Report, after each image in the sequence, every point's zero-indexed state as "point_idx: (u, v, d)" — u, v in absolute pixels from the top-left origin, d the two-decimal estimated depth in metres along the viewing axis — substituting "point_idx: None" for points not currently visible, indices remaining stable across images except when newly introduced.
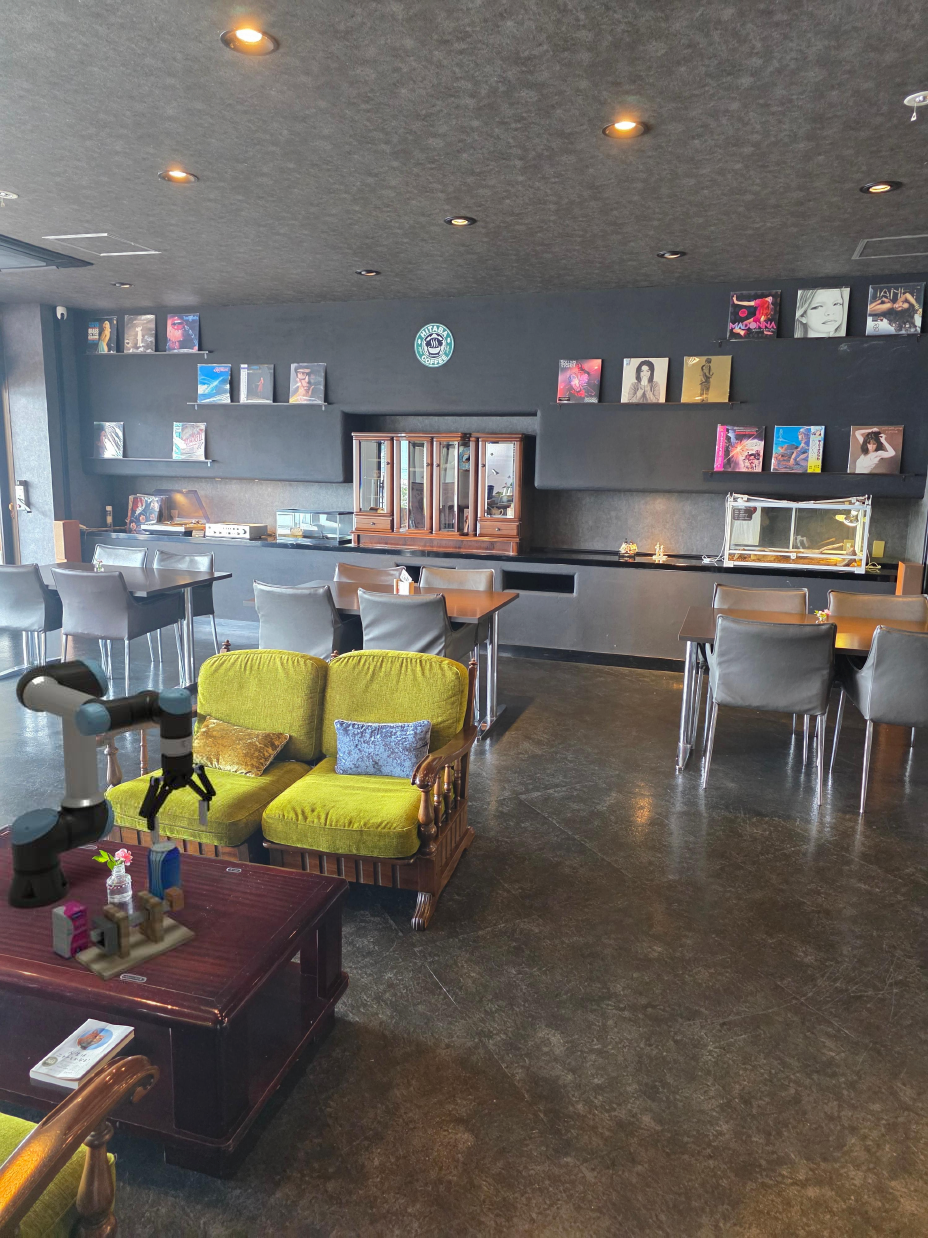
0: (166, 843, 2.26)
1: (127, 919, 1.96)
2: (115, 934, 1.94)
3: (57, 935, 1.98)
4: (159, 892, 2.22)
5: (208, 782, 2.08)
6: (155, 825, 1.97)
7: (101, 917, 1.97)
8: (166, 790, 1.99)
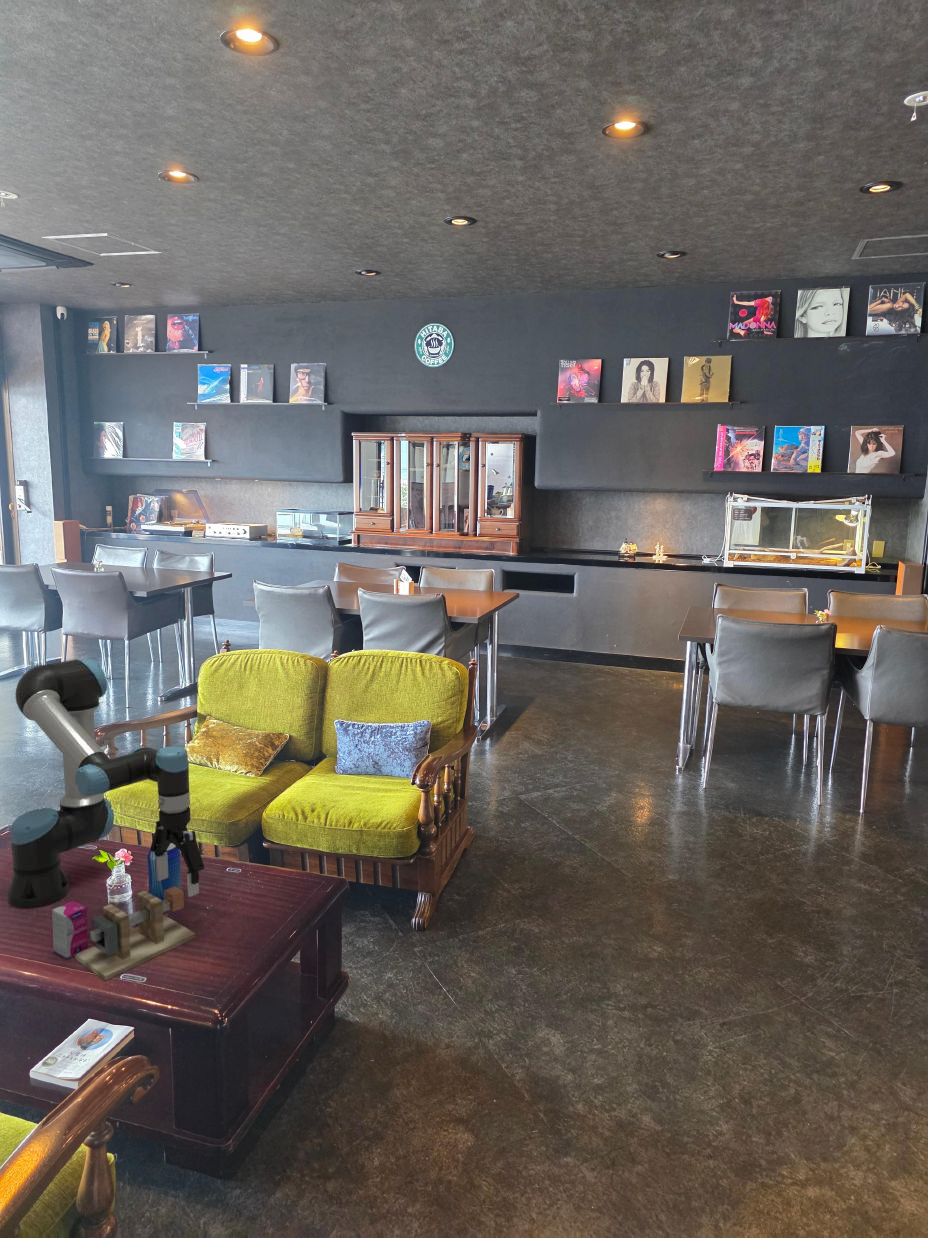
0: None
1: (127, 919, 1.96)
2: (115, 934, 1.94)
3: (57, 935, 1.98)
4: (159, 892, 2.22)
5: (190, 854, 2.03)
6: None
7: (101, 917, 1.97)
8: None
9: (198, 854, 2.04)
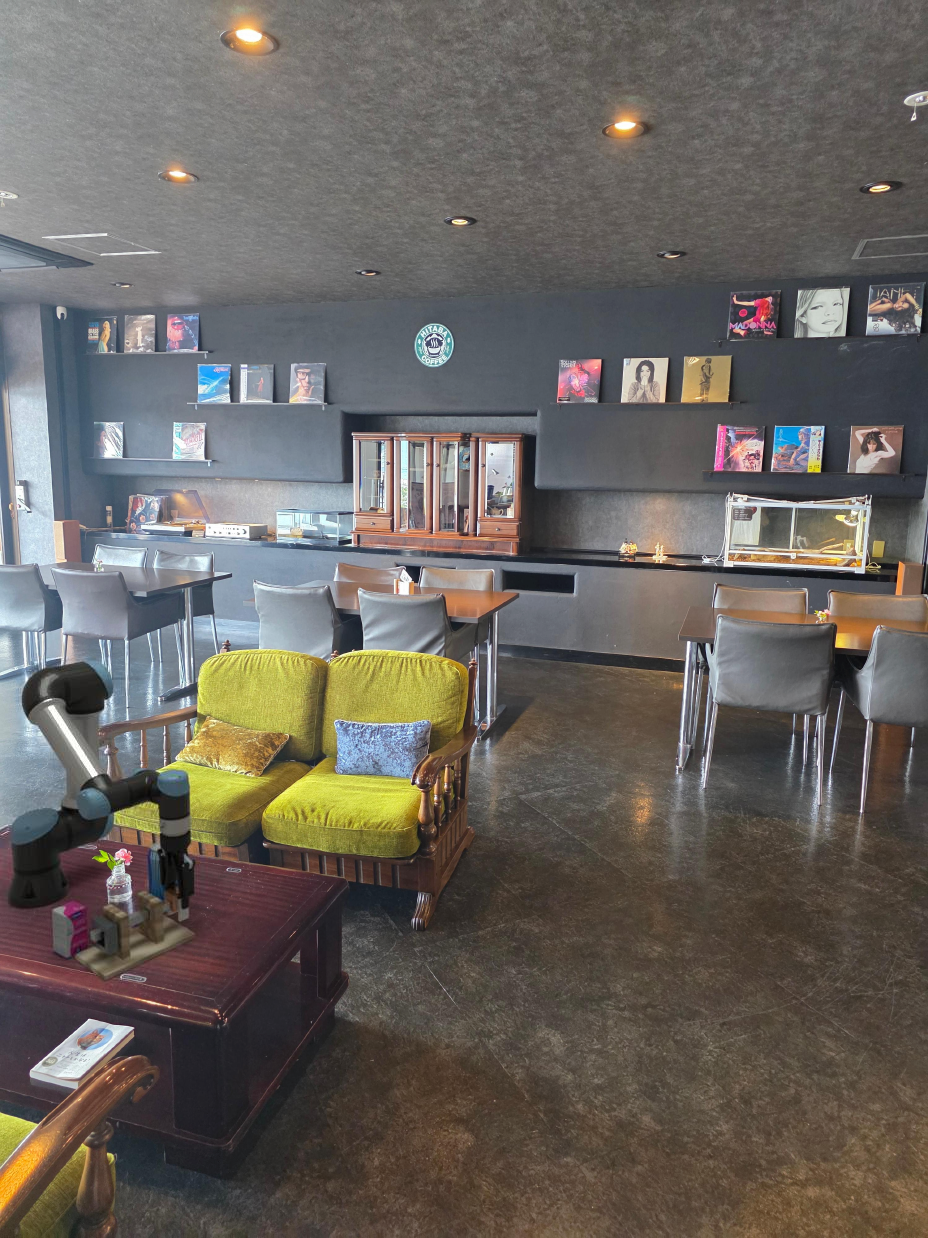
0: None
1: (127, 919, 1.96)
2: (115, 934, 1.94)
3: (57, 935, 1.98)
4: (159, 892, 2.22)
5: (184, 881, 2.06)
6: None
7: (101, 917, 1.97)
8: None
9: (192, 882, 2.07)
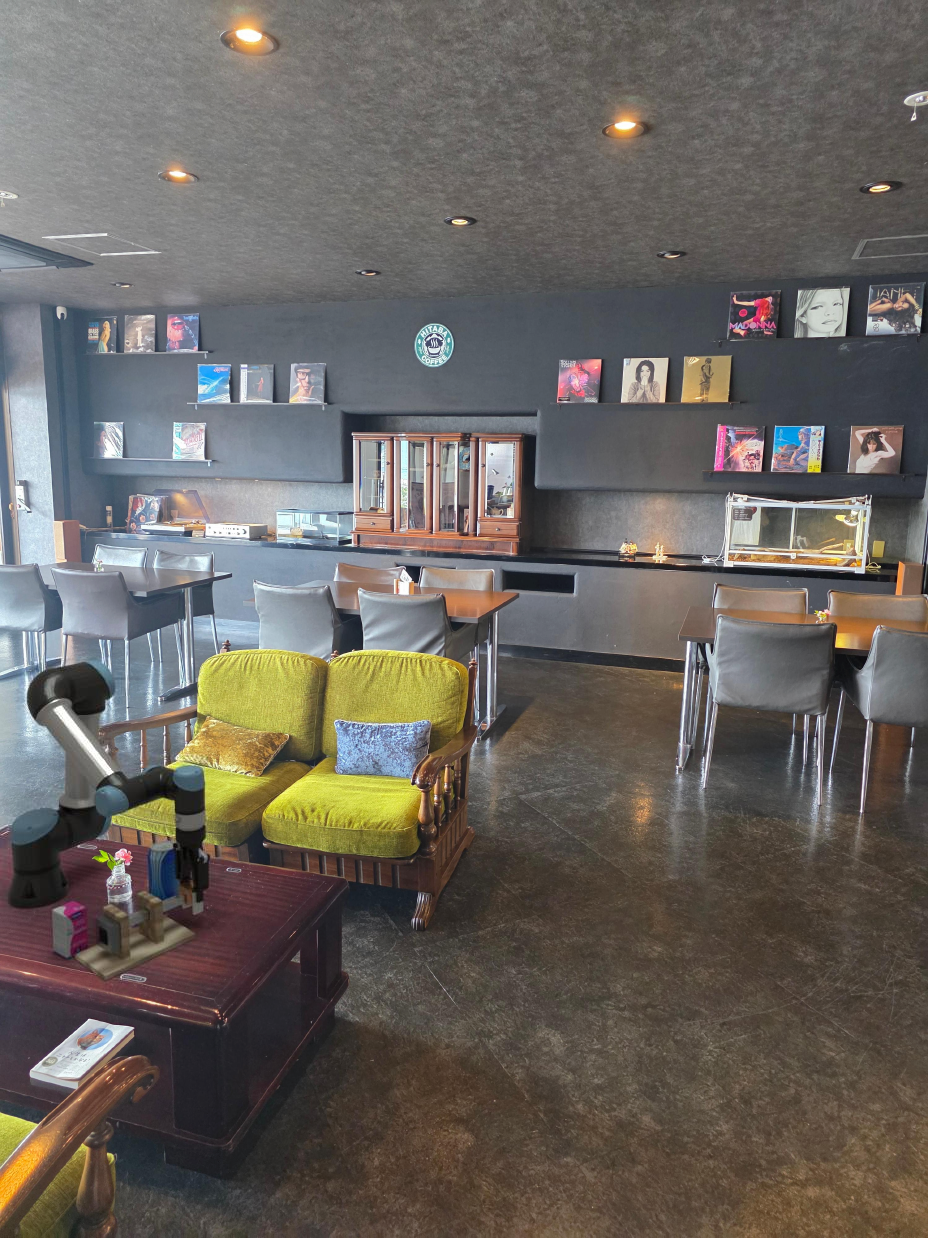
0: (166, 843, 2.26)
1: (127, 919, 1.96)
2: (118, 933, 1.95)
3: (57, 935, 1.98)
4: (159, 892, 2.22)
5: (199, 875, 2.09)
6: None
7: (104, 916, 1.98)
8: None
9: (207, 876, 2.10)
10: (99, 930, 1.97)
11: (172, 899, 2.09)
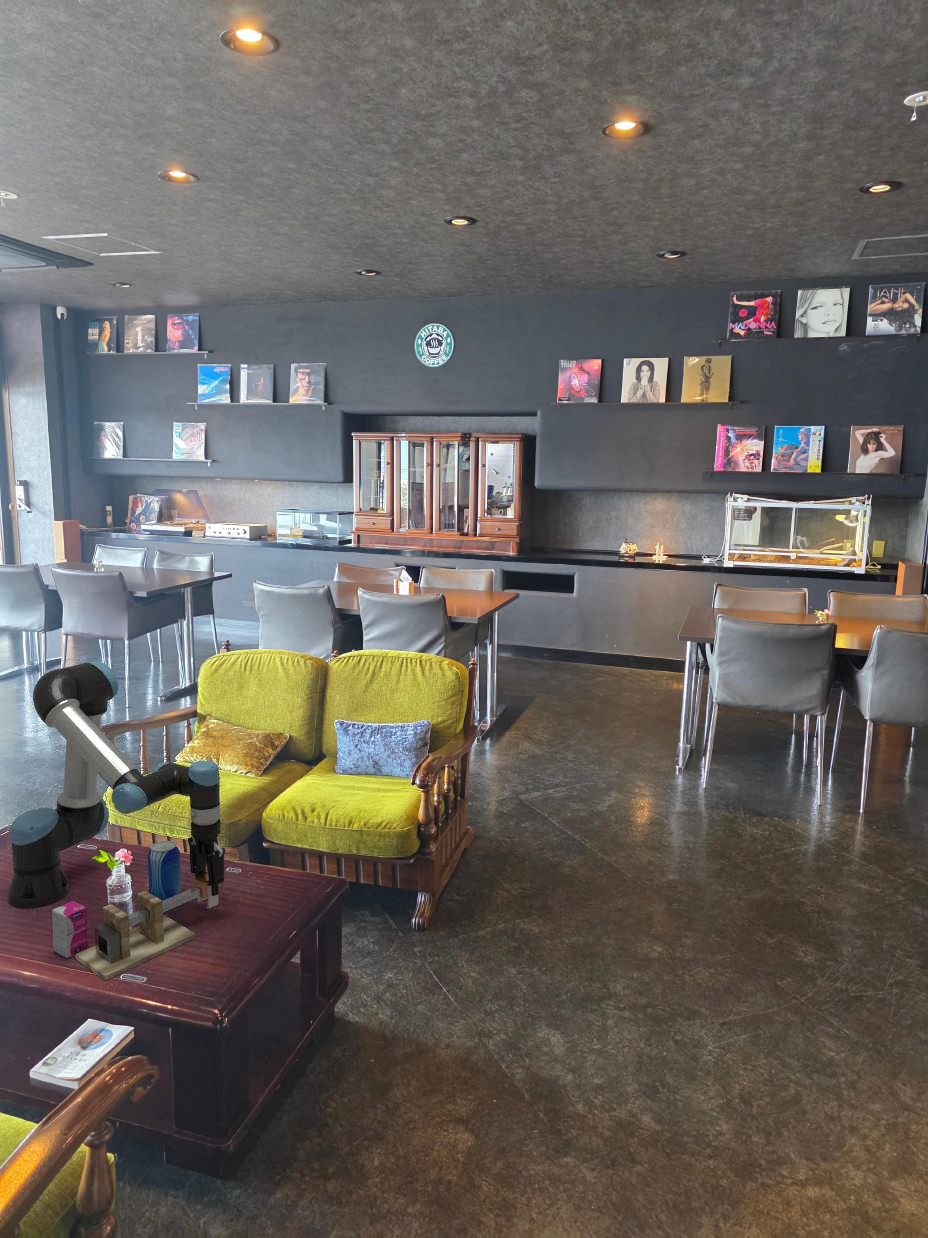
0: (166, 843, 2.26)
1: (127, 919, 1.96)
2: (118, 942, 1.95)
3: (57, 935, 1.98)
4: (159, 892, 2.22)
5: (215, 869, 2.13)
6: None
7: (104, 925, 1.98)
8: None
9: (222, 869, 2.14)
10: (99, 939, 1.97)
11: (188, 892, 2.13)
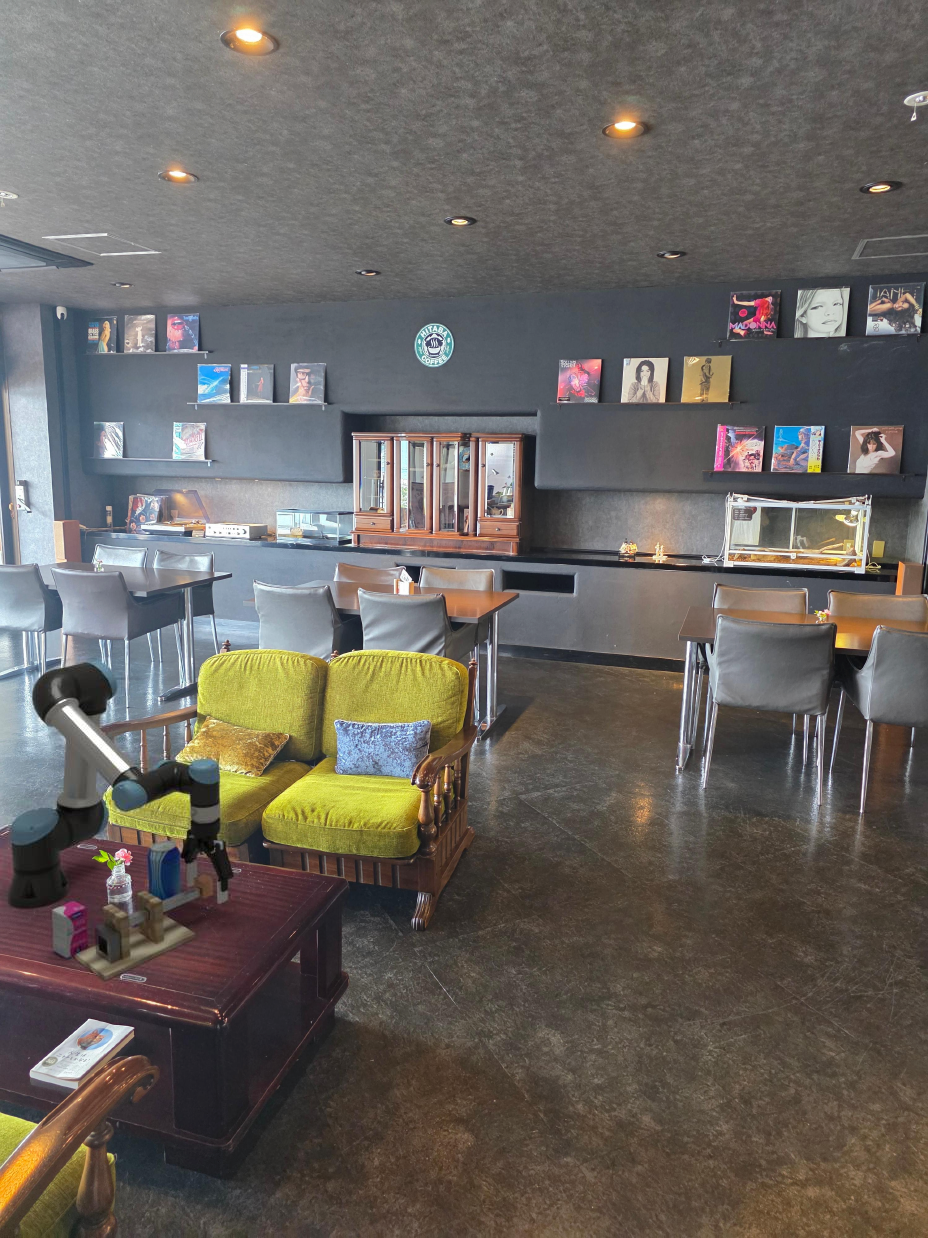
0: (166, 843, 2.26)
1: (127, 919, 1.96)
2: (118, 942, 1.95)
3: (57, 935, 1.98)
4: (159, 892, 2.22)
5: (220, 863, 2.11)
6: None
7: (104, 925, 1.98)
8: None
9: (228, 863, 2.12)
10: (99, 939, 1.97)
11: (188, 892, 2.13)
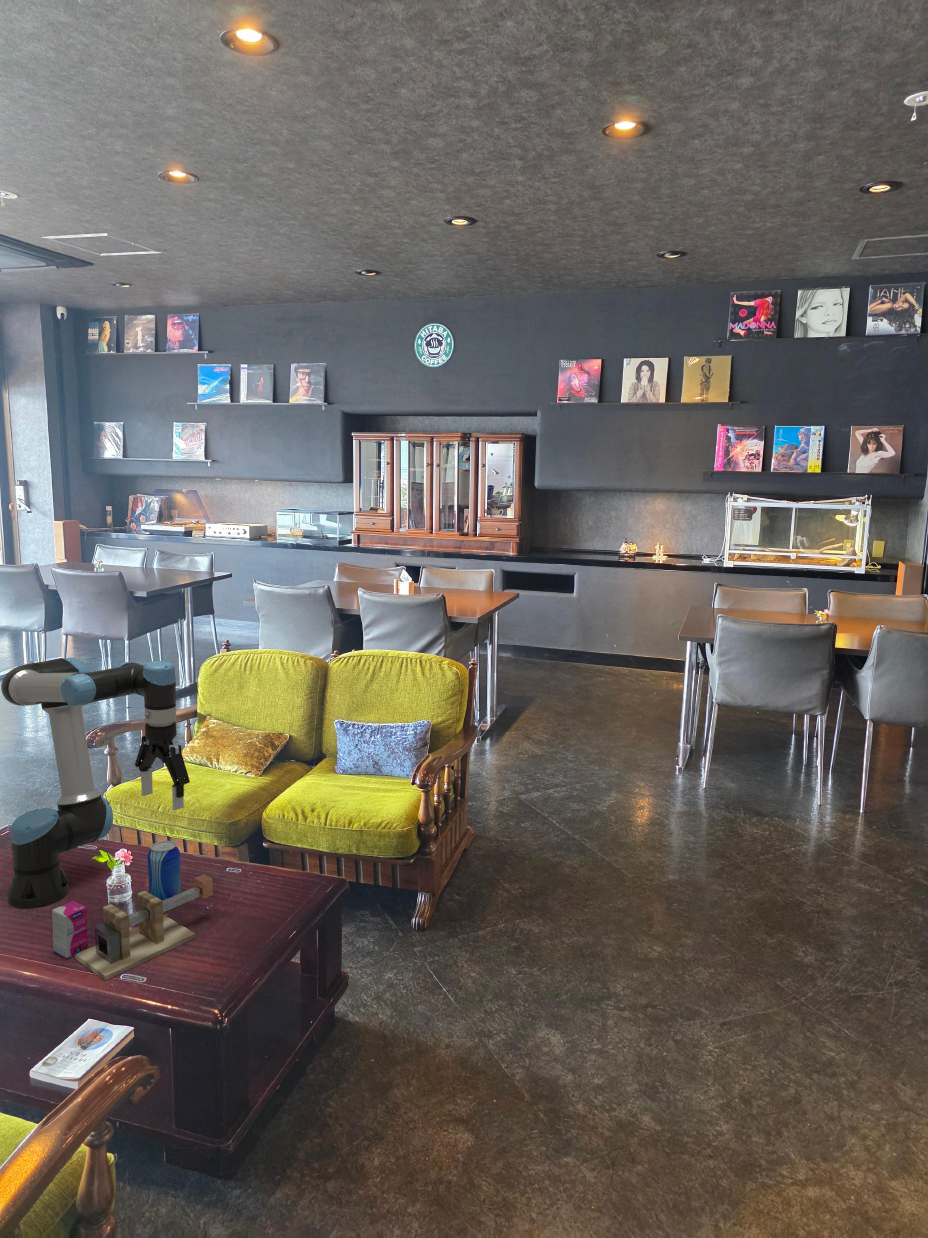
0: (166, 843, 2.26)
1: (127, 919, 1.96)
2: (118, 942, 1.95)
3: (57, 935, 1.98)
4: (159, 892, 2.22)
5: (175, 767, 2.03)
6: None
7: (104, 925, 1.98)
8: None
9: (184, 768, 2.04)
10: (99, 939, 1.97)
11: (188, 892, 2.13)
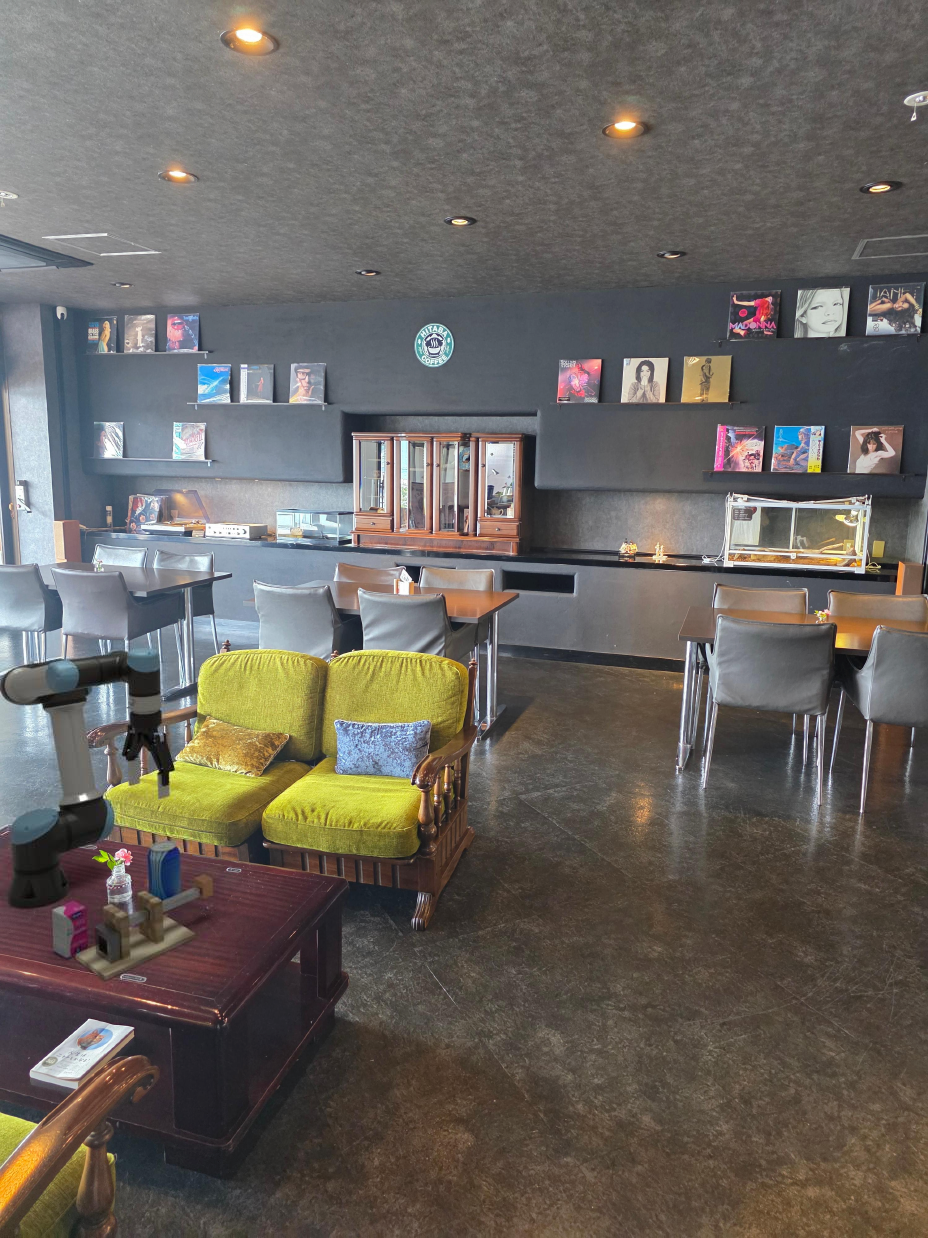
0: (166, 843, 2.26)
1: (127, 919, 1.96)
2: (118, 942, 1.95)
3: (57, 935, 1.98)
4: (159, 892, 2.22)
5: (160, 755, 2.01)
6: None
7: (104, 925, 1.98)
8: None
9: (169, 755, 2.02)
10: (99, 939, 1.97)
11: (188, 892, 2.13)
